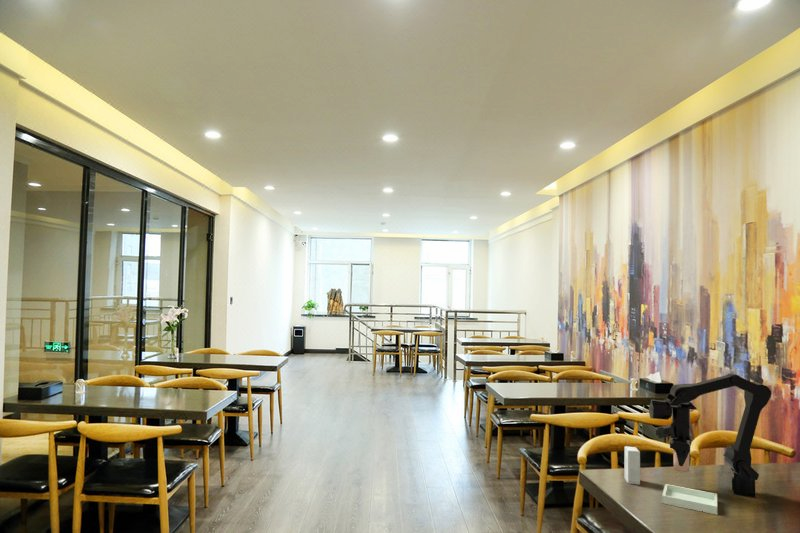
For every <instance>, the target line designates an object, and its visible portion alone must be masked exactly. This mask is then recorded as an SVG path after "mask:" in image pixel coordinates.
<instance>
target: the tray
mask: <svg viewBox="0 0 800 533" xmlns="http://www.w3.org/2000/svg"><path fill="white" fill-rule="evenodd" d="M661 503H662V504H665V505H670V506H674V507H679V508H684V509H688V510H692V511H693V510H694V511H698V512H702V511H703V512H702V513H707V514H712V515H718V493H716V492H715V493H714V492H709V491H704V490H700V489H694V488H688V487H683V486H678V485H673V484H668V483H664V487H663V491H662V495H661Z"/></svg>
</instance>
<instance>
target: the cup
mask: <svg viewBox="0 0 800 533" xmlns="http://www.w3.org/2000/svg"><path fill="white" fill-rule="evenodd" d="M672 450H673V456H672V457H673V470H674V471H676V472H679V473H690V453H689V454H688V456H687V458H686V460H685V463H684V465H683V466H679V462H678V458H677V454H676V451H675V450H674V449H672Z"/></svg>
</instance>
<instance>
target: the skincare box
mask: <svg viewBox="0 0 800 533" xmlns="http://www.w3.org/2000/svg"><path fill="white" fill-rule="evenodd" d="M623 475H624V476H623V477H624V480H625V481H626V483H627V484H630V485H638V486H639V485H641V452H640V450H639V449H638V448H637V446H636V447H635V446H627V445H625V446H624V474H623Z"/></svg>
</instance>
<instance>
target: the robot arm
mask: <svg viewBox="0 0 800 533" xmlns="http://www.w3.org/2000/svg"><path fill="white" fill-rule="evenodd" d="M732 387H736V388H738V389H740V390H742V391H744V393H743V396H744V397H743V399H744V404H745V405H744V408H743V413H742V416H741V420H740V423H739V427H738V430H737V435H736V438H735V441H734V443H733V444H732V445H731V446H730V445H729V444H728V445H726V447H725V453H724V454H723V456H724V462H725V463H726V465H727V466H728V467H729V468H730V470H731V471H732V474H733V476H731V491H733V494H734V495H739V496H743V497H749V498H754V499H756V498H757V494H756V481H757V480H758V478H760V477H759V476H760V474H759V473H758V472H757V471H756V470H755V469H754V468H753V467H752V460H753V459H752V453H751V448H752V447H751V446H752V443H753V440H754V438H755V437H754V436H755V433H756V429H757V426H758V424H759V423H758V422H759V419H760V415H761V412H762V410H763V409H764V408H765V407H766V406H767V405H768V403H769V401H770V399H771V397H772V389H770V387H769V386H767V385H765V384H762V383H759V382H756V381H750V380H747V379H746V378H744V377H741V376H740V375H738V374H736V373H732V372H731V373H730V372H729V373H728V374H725V375H722V376H717V377H714V378H711V379H710V378H709V379H707V380H703V381H699V382H696V383H695V382H694V383H681V384H680V383H679V384H674V385H672V386H671V388H670V391H669V393H668V394H667V395H666V397H665V398H664V399H663V400H657V399H650V403H649V407H648V413H649V414H648V415H649V418H650V419H654V420H667V421H668V420H669V419H671V420H672V421H671V423H670V424H669V425H668V424H667V425H663V426H657V427H655V429H654V432H655V435H656V437H657V439H659V440H660V439H662V438H667V437H670V439H671V440H670V442H669V448H670V449H671V450H673V449H674V450H675V451H676V454H677V458H678V462H679V466H683V465H684V463H685V460H686V458H687V456H688V454H689V455H690V452H691V447H692V446H691V445H692V440H693V434H692V433H691V410H697V408H698V407H696V406H695V405H694V404H693V402H692V401H694V400H696V399H697V398H699V397H701V396H703V395H706V394H710V393H713V392H717V391H720V390H725V389H728V388H732Z"/></svg>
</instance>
